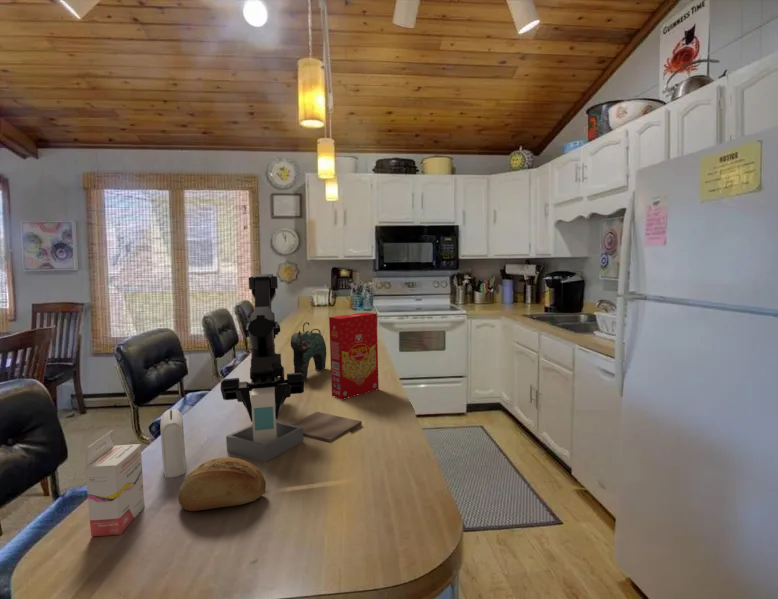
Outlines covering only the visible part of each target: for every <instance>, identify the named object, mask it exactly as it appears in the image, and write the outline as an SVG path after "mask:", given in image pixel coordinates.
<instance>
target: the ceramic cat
mask: <svg viewBox="0 0 778 599" xmlns="http://www.w3.org/2000/svg"><path fill="white" fill-rule="evenodd" d="M306 324H307V325H308V326H310V322H308V321H305V322H304V323H303V325H302V332H301V330H299V331H298V332H294V333H293V334H292V335H291V338H290V347H291V349H292V350H293V366H294V367H293V369H294V372H293V373H302V374H303V375H304V381H305V379H306V380H307V379H308V373H309V372H308V370H309V366H310V362H311V359H313V362H314V363H313V364H314V368H315V369H318V370H317V371H323V370H322V369H324V370H325V369H326V362H327V360H326V359H327V346H326V345H327V344H326V342H325V338H324V336H323V335H322V333H321V330H320V329H318V328H313V329H312V330H307V331H305V325H306ZM314 331H318V332H314ZM315 369H314V370H315Z"/></svg>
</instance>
